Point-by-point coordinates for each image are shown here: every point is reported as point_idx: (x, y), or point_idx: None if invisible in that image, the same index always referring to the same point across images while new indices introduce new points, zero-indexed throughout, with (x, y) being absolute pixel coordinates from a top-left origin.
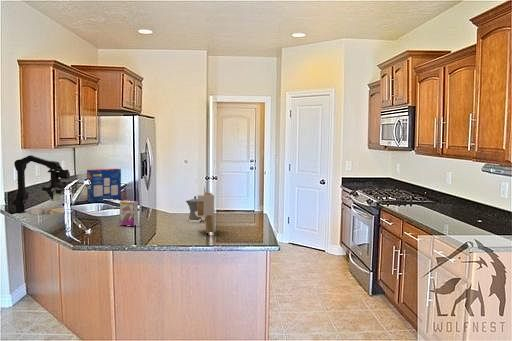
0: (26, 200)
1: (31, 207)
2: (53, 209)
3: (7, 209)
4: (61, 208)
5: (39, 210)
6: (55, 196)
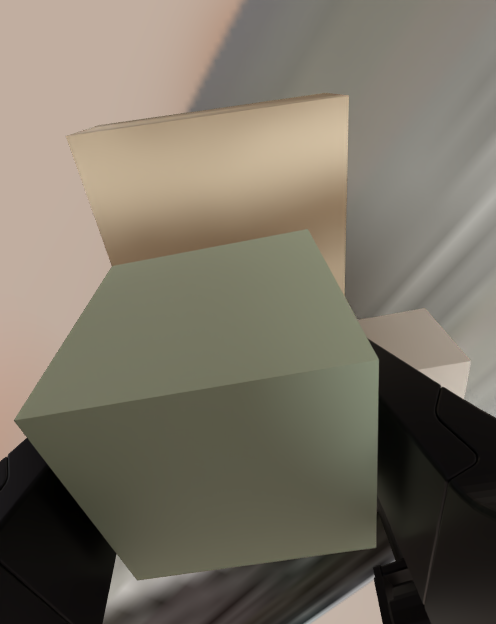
0: (401, 591)
1: None
2: (315, 171)
3: (356, 579)
4: (153, 155)
5: (391, 342)
6: (314, 309)
